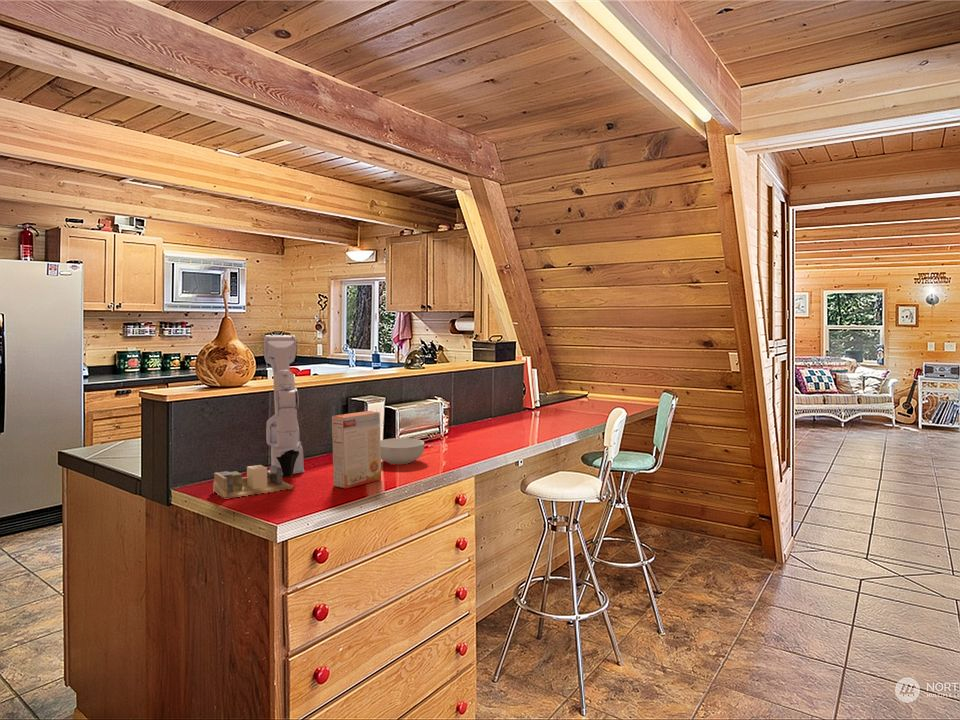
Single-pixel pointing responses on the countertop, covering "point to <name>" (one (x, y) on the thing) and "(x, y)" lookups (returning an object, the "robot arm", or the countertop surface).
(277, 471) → the bookend
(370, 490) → the countertop surface
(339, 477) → the cracker box
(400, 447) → the cereal bowl
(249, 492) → the shelf
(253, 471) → the beige wooden cube
